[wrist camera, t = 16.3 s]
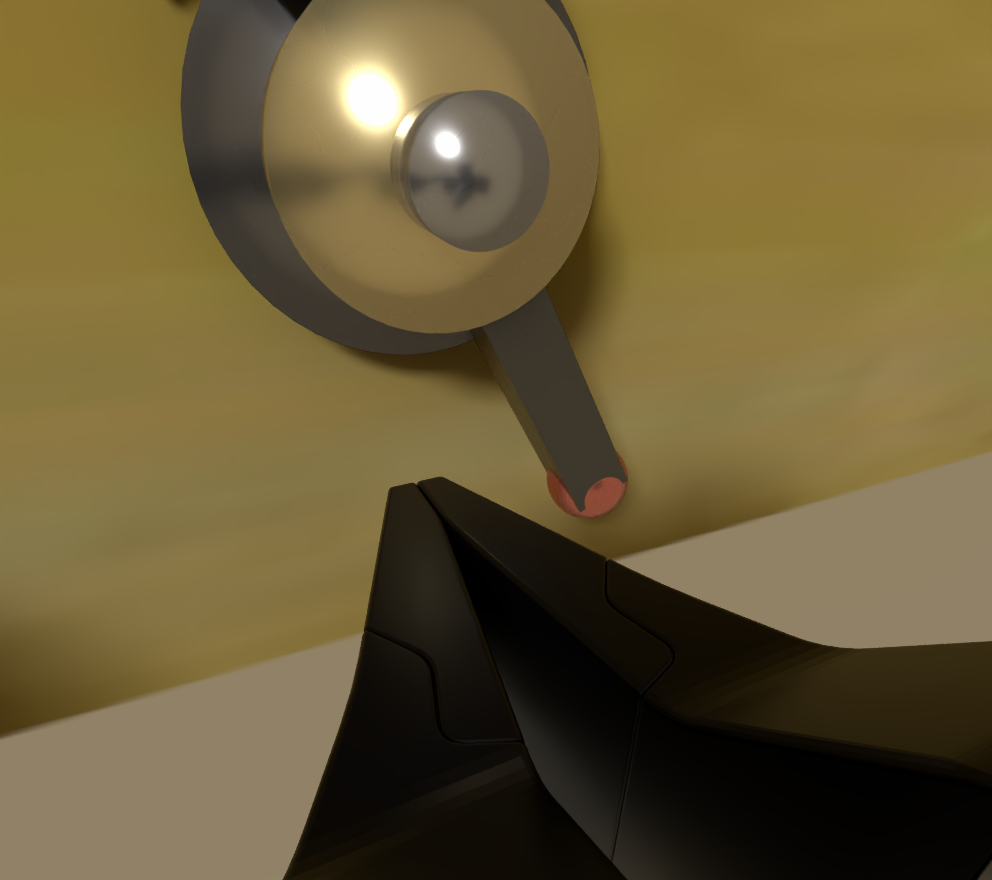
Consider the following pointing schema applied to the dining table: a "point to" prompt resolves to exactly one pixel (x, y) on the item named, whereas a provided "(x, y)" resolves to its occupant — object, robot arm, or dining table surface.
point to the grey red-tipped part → (413, 250)
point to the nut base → (242, 174)
